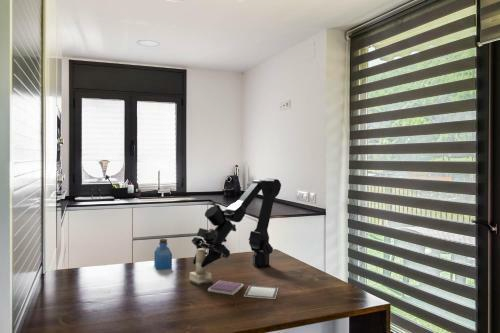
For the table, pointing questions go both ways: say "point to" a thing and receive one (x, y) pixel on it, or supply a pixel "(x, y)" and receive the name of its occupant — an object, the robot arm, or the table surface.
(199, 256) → the stamp
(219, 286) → the ink pad
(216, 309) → the table surface
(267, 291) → the marked card
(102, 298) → the table surface
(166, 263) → the perfume bottle
